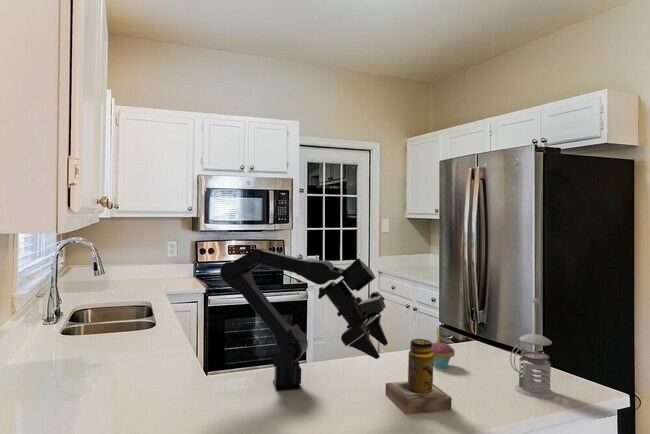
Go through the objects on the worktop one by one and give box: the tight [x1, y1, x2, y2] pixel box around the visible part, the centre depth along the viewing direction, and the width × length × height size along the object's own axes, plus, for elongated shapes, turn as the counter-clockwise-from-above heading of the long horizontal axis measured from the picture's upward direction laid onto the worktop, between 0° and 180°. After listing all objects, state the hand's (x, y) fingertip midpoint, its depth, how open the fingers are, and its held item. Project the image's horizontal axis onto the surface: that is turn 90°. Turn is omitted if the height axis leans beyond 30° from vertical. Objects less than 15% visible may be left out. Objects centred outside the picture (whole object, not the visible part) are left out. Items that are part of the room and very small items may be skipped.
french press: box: [509, 298, 555, 399], centre depth 122 cm, size 10×12×25 cm
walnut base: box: [385, 381, 453, 415], centre depth 112 cm, size 12×12×3 cm
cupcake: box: [431, 327, 456, 369], centre depth 142 cm, size 9×8×12 cm
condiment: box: [396, 338, 438, 395], centre depth 112 cm, size 7×8×12 cm
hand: (382, 351), depth 116 cm, fingers open, 9 cm apart
